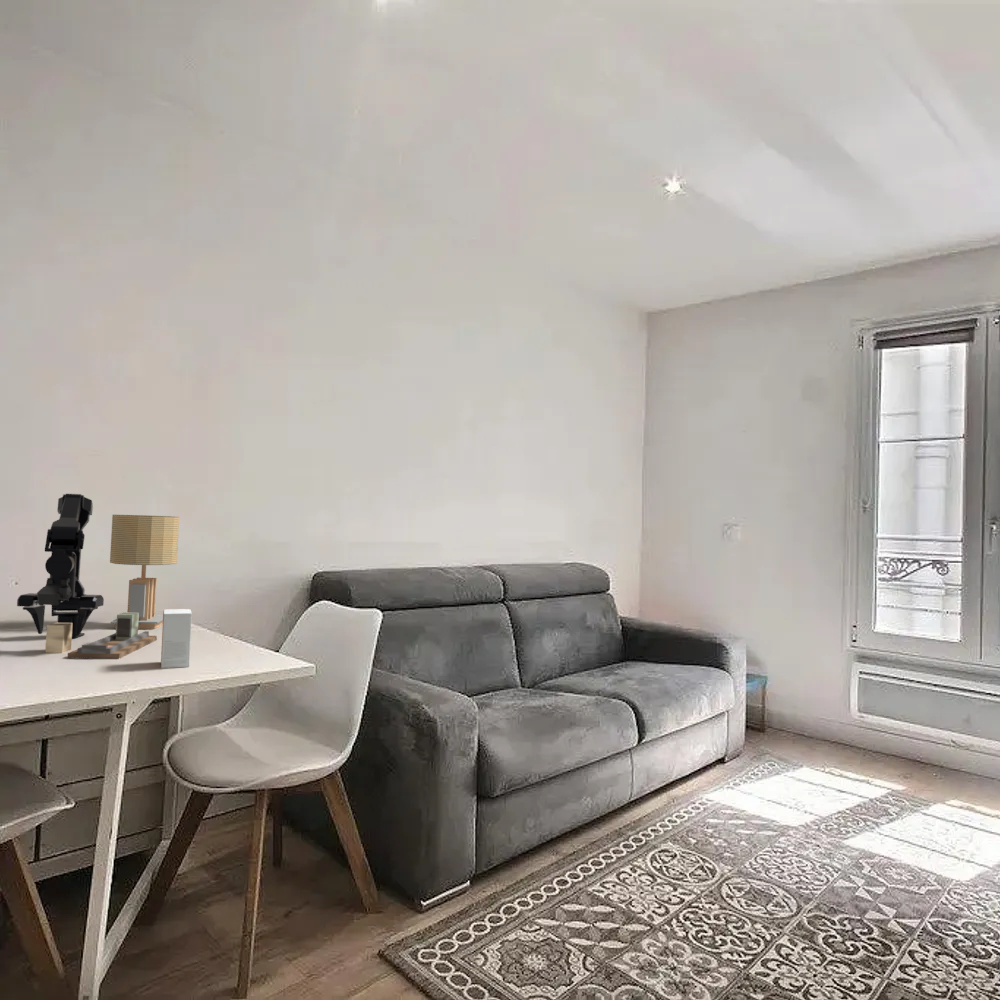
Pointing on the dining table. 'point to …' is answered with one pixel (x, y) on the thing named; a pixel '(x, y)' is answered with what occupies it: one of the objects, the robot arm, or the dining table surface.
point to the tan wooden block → (58, 637)
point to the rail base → (116, 640)
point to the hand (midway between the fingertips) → (59, 634)
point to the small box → (176, 638)
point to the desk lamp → (144, 558)
